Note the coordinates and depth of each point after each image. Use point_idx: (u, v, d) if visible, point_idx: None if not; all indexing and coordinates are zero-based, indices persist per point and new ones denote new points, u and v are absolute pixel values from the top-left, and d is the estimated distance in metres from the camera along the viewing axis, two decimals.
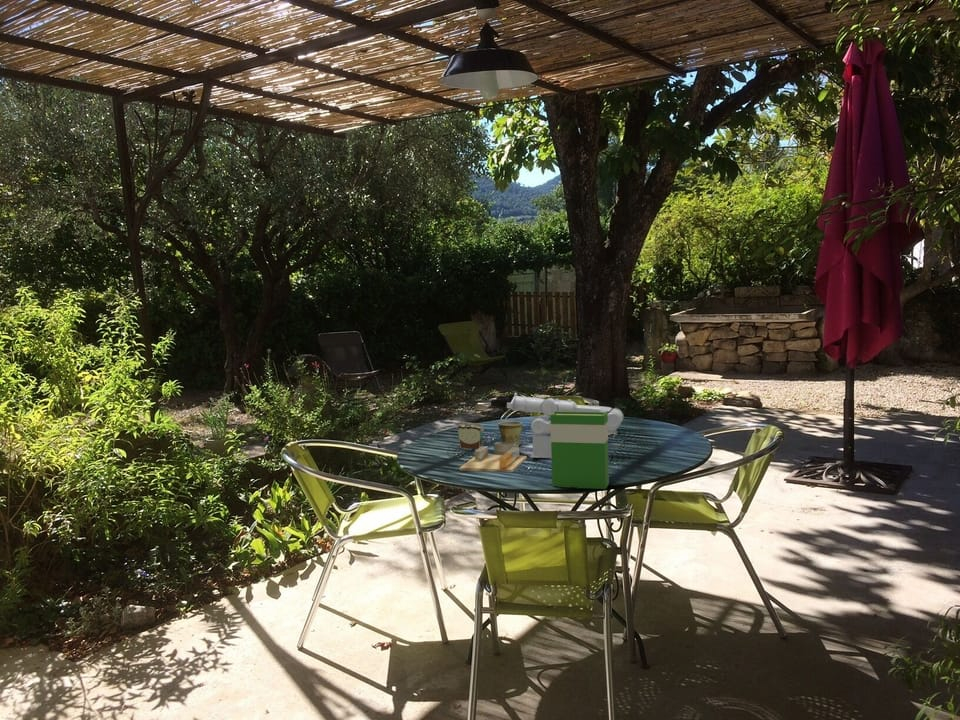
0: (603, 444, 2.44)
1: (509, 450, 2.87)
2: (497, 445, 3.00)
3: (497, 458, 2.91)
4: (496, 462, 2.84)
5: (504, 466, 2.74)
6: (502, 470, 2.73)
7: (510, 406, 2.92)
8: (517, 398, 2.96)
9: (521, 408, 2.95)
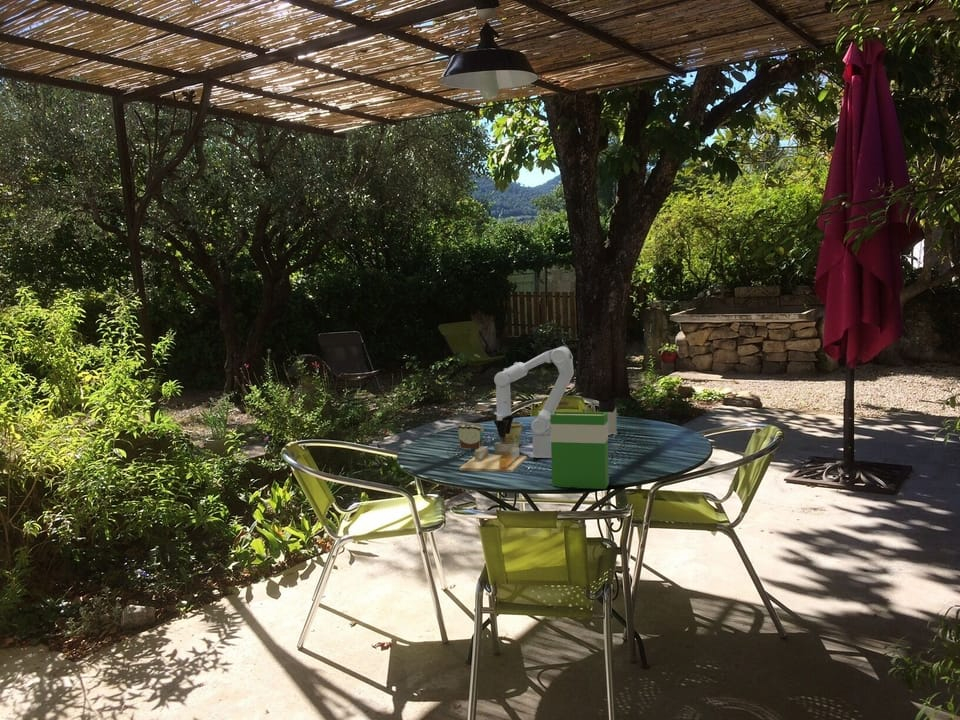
0: (603, 444, 2.44)
1: (509, 450, 2.87)
2: (497, 445, 3.00)
3: (497, 458, 2.91)
4: (496, 462, 2.84)
5: (504, 466, 2.74)
6: (502, 470, 2.73)
7: (499, 416, 2.93)
8: (497, 411, 2.99)
9: (505, 406, 2.97)
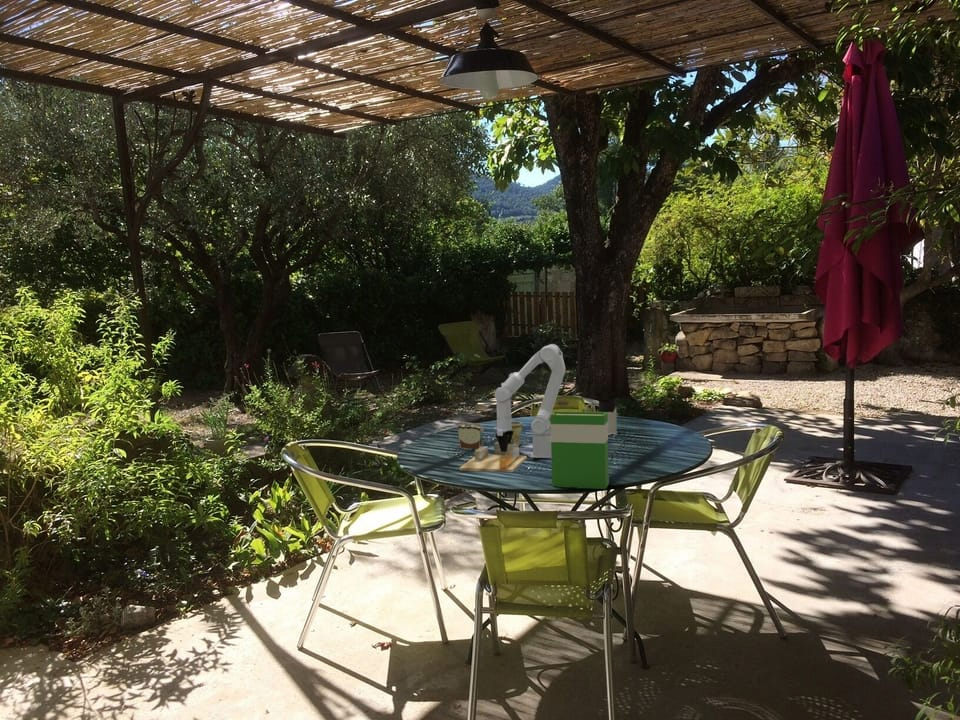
0: (603, 444, 2.44)
1: (509, 450, 2.87)
2: (497, 445, 3.00)
3: (497, 458, 2.91)
4: (496, 462, 2.84)
5: (504, 466, 2.74)
6: (502, 470, 2.73)
7: (500, 432, 2.94)
8: (497, 426, 3.00)
9: (506, 422, 2.98)
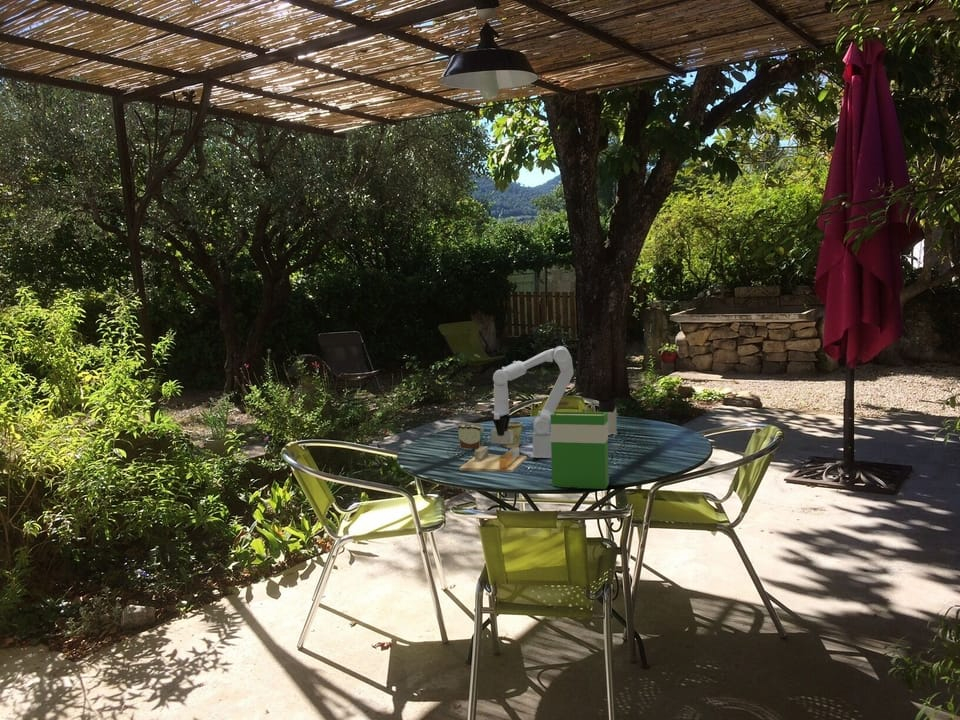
0: (603, 444, 2.44)
1: (509, 450, 2.87)
2: (494, 432, 2.96)
3: (497, 458, 2.91)
4: (496, 462, 2.84)
5: (504, 466, 2.74)
6: (502, 470, 2.73)
7: (496, 415, 2.90)
8: (494, 409, 2.96)
9: (503, 405, 2.94)
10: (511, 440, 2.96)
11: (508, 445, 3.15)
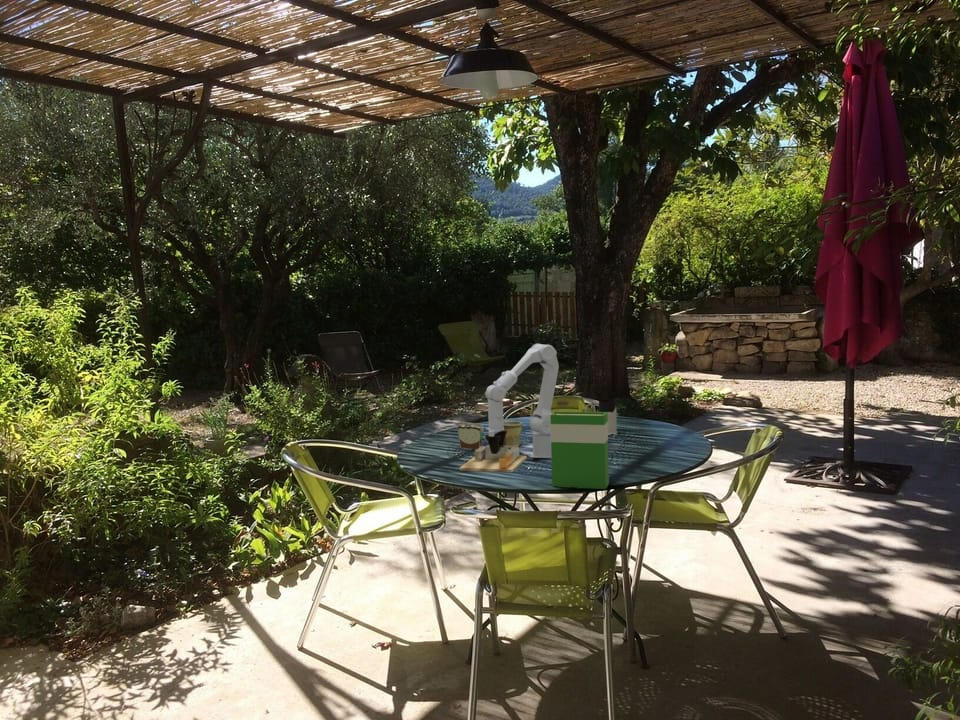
0: (603, 444, 2.44)
1: (509, 450, 2.87)
2: (488, 448, 2.89)
3: None
4: (496, 462, 2.84)
5: (504, 466, 2.74)
6: (502, 470, 2.73)
7: (491, 432, 2.82)
8: (489, 426, 2.88)
9: (498, 422, 2.86)
10: None
11: (508, 445, 3.15)
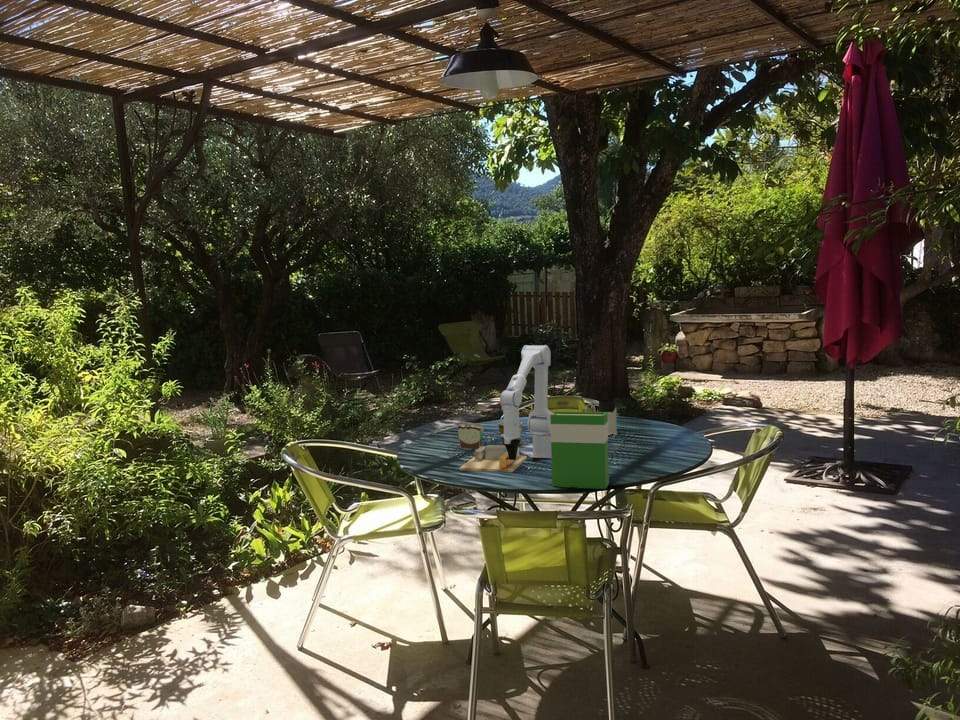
0: (603, 444, 2.44)
1: None
2: (488, 448, 2.89)
3: None
4: (496, 462, 2.84)
5: (504, 466, 2.74)
6: (502, 470, 2.73)
7: (507, 439, 2.70)
8: (504, 433, 2.75)
9: (514, 428, 2.74)
10: None
11: None
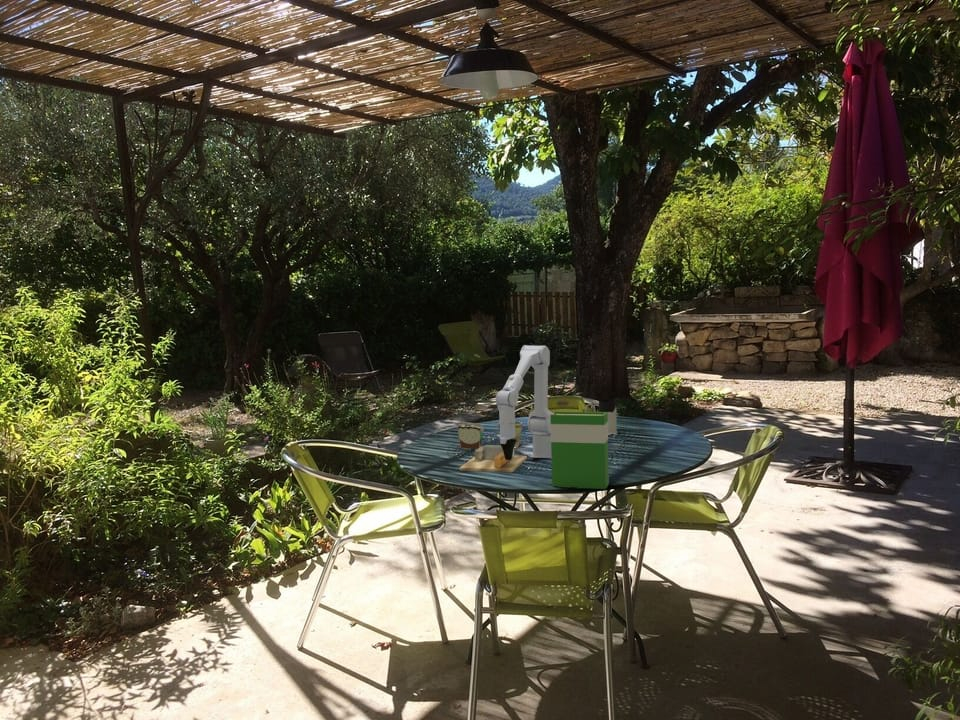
0: (603, 444, 2.44)
1: None
2: (486, 448, 2.89)
3: None
4: None
5: (499, 466, 2.74)
6: (502, 470, 2.73)
7: (503, 439, 2.70)
8: (500, 433, 2.76)
9: (509, 428, 2.74)
10: None
11: None
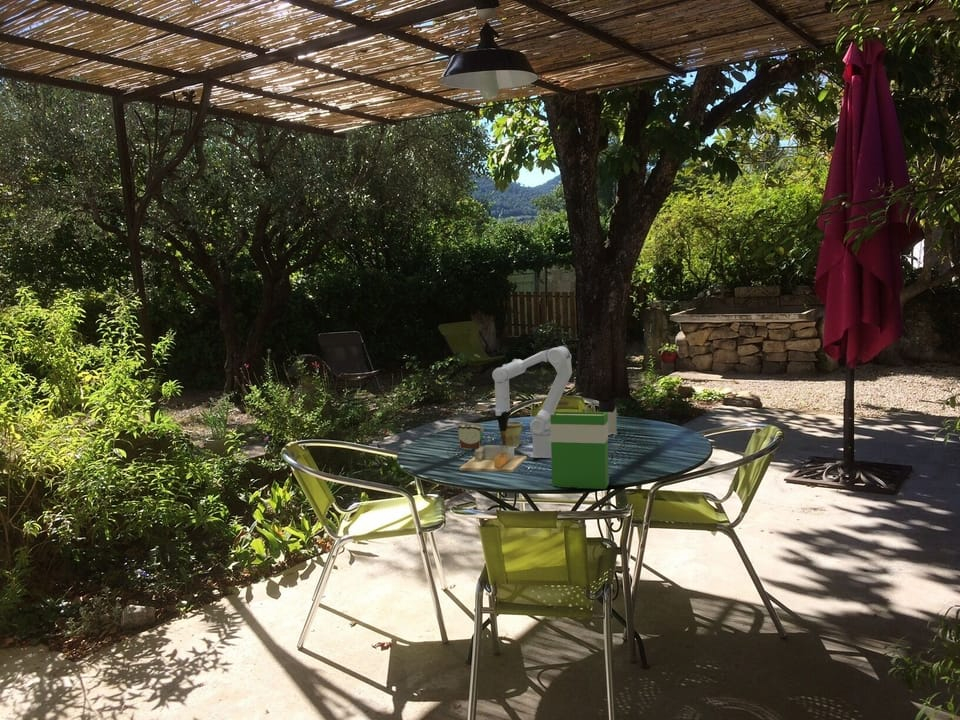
0: (603, 444, 2.44)
1: (504, 450, 2.87)
2: (486, 448, 2.89)
3: None
4: None
5: (499, 466, 2.74)
6: (502, 470, 2.73)
7: (498, 412, 2.95)
8: (496, 406, 3.01)
9: (504, 402, 2.99)
10: None
11: (508, 445, 3.15)
